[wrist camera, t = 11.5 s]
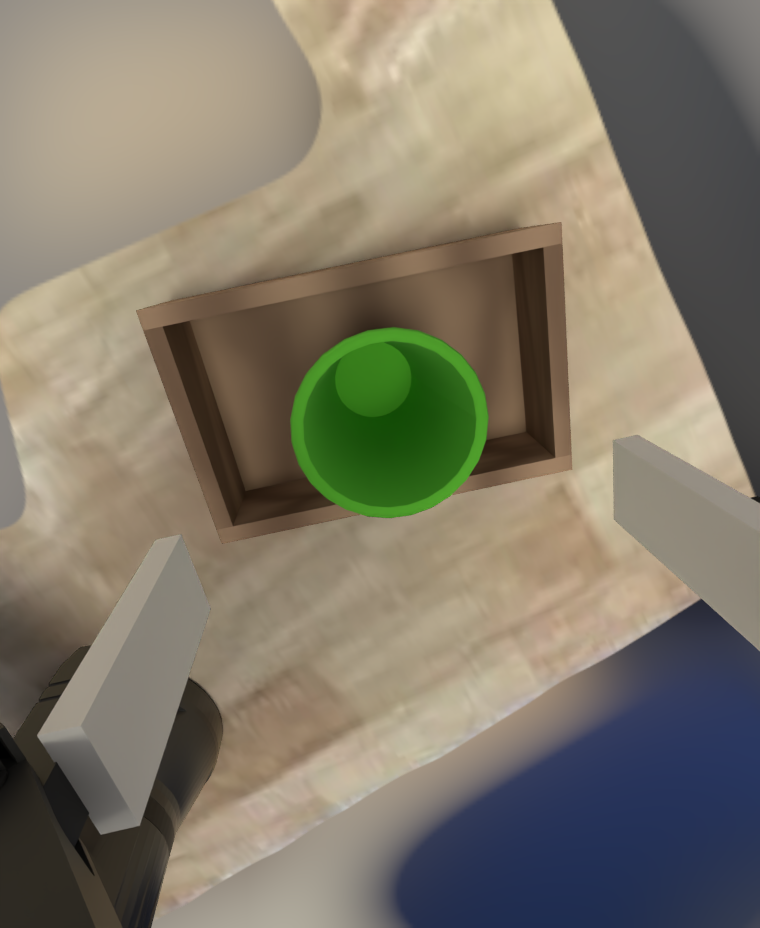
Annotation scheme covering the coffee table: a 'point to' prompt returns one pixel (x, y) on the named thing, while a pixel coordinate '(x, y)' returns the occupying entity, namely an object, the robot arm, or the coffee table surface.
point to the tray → (347, 314)
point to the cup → (389, 422)
